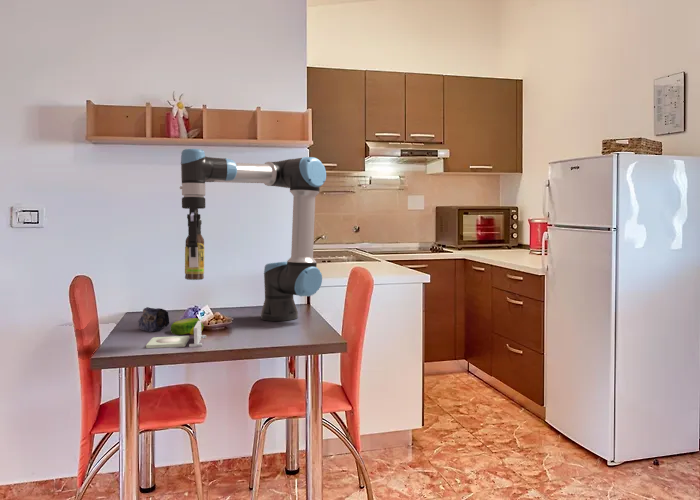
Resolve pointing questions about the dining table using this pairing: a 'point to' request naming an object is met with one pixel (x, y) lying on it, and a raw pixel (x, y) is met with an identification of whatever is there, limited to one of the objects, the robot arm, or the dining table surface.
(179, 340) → the pad
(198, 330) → the divider
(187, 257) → the sauce bottle
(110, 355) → the dining table surface
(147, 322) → the rock
